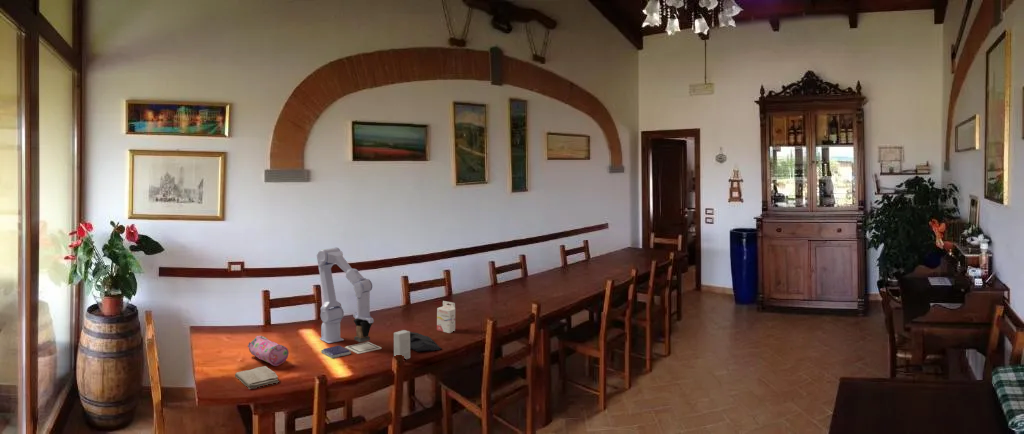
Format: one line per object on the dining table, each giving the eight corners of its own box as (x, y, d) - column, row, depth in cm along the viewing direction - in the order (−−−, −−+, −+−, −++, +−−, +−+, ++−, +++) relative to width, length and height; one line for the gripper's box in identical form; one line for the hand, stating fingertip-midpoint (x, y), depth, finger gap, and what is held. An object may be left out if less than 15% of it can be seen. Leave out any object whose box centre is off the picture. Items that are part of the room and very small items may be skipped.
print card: (345, 347, 274) (345, 346, 274) (368, 342, 282) (368, 341, 282) (358, 354, 265) (358, 352, 265) (381, 348, 274) (381, 347, 274)
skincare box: (404, 356, 264) (404, 329, 263) (410, 358, 261) (410, 331, 260) (393, 359, 259) (393, 332, 258) (399, 361, 256) (399, 334, 255)
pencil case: (247, 356, 260) (246, 336, 259) (268, 352, 266) (267, 332, 265) (268, 369, 245) (267, 347, 244) (289, 364, 251) (289, 343, 250)
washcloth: (249, 391, 222) (249, 383, 222) (233, 378, 235) (233, 370, 235) (281, 383, 230) (281, 376, 230) (264, 371, 243) (264, 363, 243)
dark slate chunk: (412, 355, 266) (412, 345, 266) (397, 341, 286) (397, 332, 285) (444, 351, 273) (444, 340, 273) (428, 338, 293) (428, 328, 292)
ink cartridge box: (436, 330, 304) (436, 302, 303) (442, 328, 309) (442, 300, 307) (449, 333, 300) (449, 304, 299) (455, 331, 304) (455, 302, 303)
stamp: (354, 339, 273) (354, 326, 273) (364, 337, 277) (363, 324, 276) (360, 342, 270) (359, 328, 269) (369, 340, 273) (369, 326, 272)
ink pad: (321, 352, 266) (321, 348, 266) (340, 348, 272) (339, 344, 272) (332, 358, 259) (332, 354, 259) (350, 354, 265) (350, 350, 265)
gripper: (347, 304, 275) (347, 333, 276) (363, 310, 264) (363, 340, 265) (361, 302, 279) (361, 330, 281) (377, 308, 269) (377, 337, 270)
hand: (363, 335), depth 273 cm, fingers closed on stamp, 4 cm apart
